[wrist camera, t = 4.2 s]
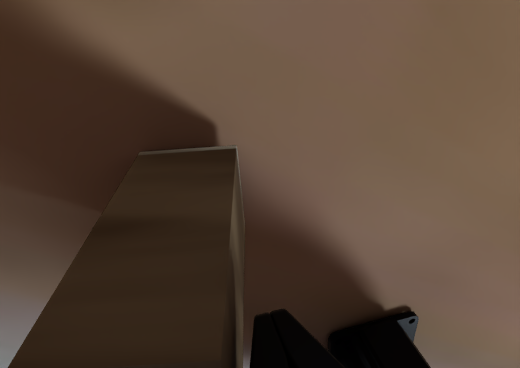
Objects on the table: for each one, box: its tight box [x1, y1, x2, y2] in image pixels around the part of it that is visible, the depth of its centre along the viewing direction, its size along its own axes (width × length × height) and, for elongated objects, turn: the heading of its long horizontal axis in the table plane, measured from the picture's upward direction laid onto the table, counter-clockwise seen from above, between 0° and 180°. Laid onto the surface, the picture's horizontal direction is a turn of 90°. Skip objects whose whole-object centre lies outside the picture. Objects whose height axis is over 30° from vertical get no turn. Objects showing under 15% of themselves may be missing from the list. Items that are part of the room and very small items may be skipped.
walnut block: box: [8, 145, 245, 368], centre depth 12 cm, size 4×4×10 cm
